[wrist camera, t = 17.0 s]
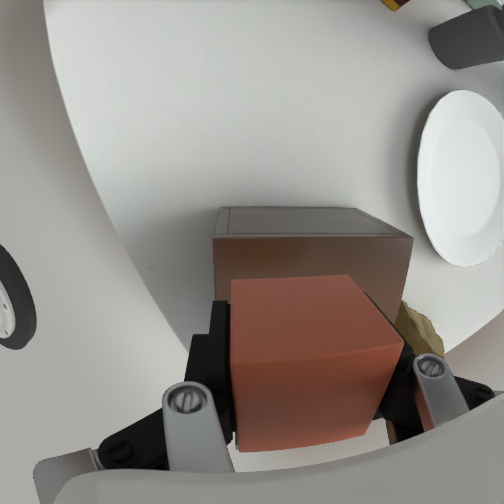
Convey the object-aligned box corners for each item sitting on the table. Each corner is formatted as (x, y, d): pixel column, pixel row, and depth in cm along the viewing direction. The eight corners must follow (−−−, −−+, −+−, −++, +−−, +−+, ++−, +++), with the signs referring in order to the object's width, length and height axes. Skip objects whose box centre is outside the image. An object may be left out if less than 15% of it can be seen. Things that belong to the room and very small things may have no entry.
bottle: (421, 39, 18) (515, 4, 4) (437, 20, 17) (520, -11, 3) (453, 78, 20) (551, 65, 6) (467, 56, 18) (553, 41, 4)
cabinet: (338, 336, 29) (368, 396, 20) (226, 342, 29) (224, 411, 20) (357, 208, 24) (414, 237, 15) (221, 206, 24) (212, 237, 15)
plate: (495, 94, 20) (506, 93, 18) (508, 236, 27) (518, 241, 25) (384, 92, 21) (396, 88, 19) (412, 283, 28) (422, 291, 26)
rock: (372, 323, 26) (380, 387, 28) (447, 332, 19) (440, 401, 21) (408, 277, 32) (413, 336, 34) (466, 278, 25) (464, 342, 27)
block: (236, 368, 11) (238, 453, 7) (230, 278, 10) (229, 362, 6) (333, 360, 12) (365, 435, 7) (347, 273, 10) (406, 341, 6)
